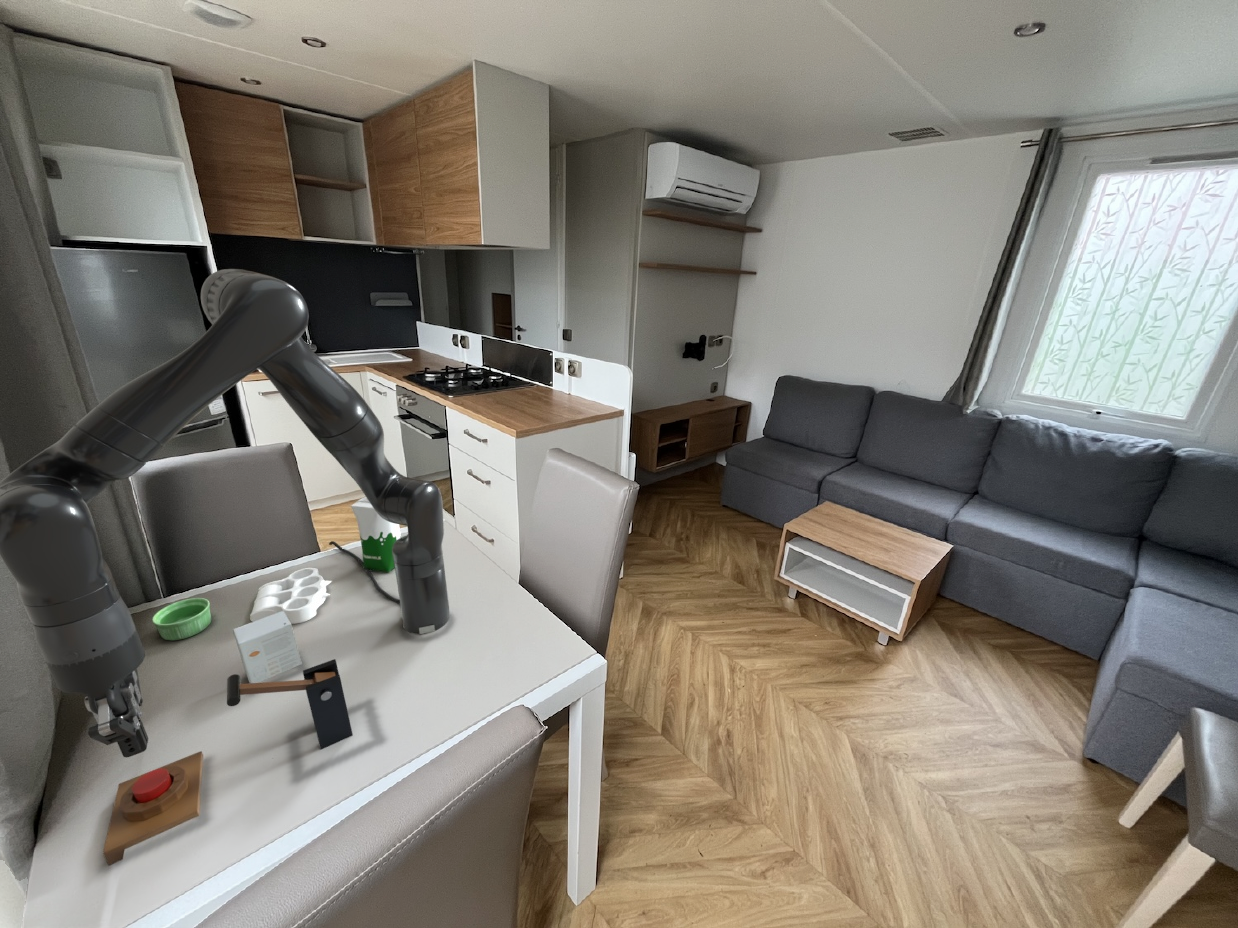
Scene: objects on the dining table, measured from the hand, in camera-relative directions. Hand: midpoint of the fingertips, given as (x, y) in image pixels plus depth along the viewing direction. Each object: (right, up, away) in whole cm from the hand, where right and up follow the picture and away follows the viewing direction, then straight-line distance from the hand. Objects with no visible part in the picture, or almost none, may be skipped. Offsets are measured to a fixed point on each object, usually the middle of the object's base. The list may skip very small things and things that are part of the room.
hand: (137, 749), depth 64 cm
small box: (-1, -2, +27) cm, 28 cm away
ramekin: (-27, +3, +39) cm, 47 cm away
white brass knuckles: (-11, +6, +48) cm, 49 cm away
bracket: (+17, -7, +15) cm, 24 cm away
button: (0, -7, +2) cm, 7 cm away
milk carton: (+2, +11, +63) cm, 64 cm away
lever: (+13, +4, +8) cm, 16 cm away
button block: (0, -10, +4) cm, 11 cm away
